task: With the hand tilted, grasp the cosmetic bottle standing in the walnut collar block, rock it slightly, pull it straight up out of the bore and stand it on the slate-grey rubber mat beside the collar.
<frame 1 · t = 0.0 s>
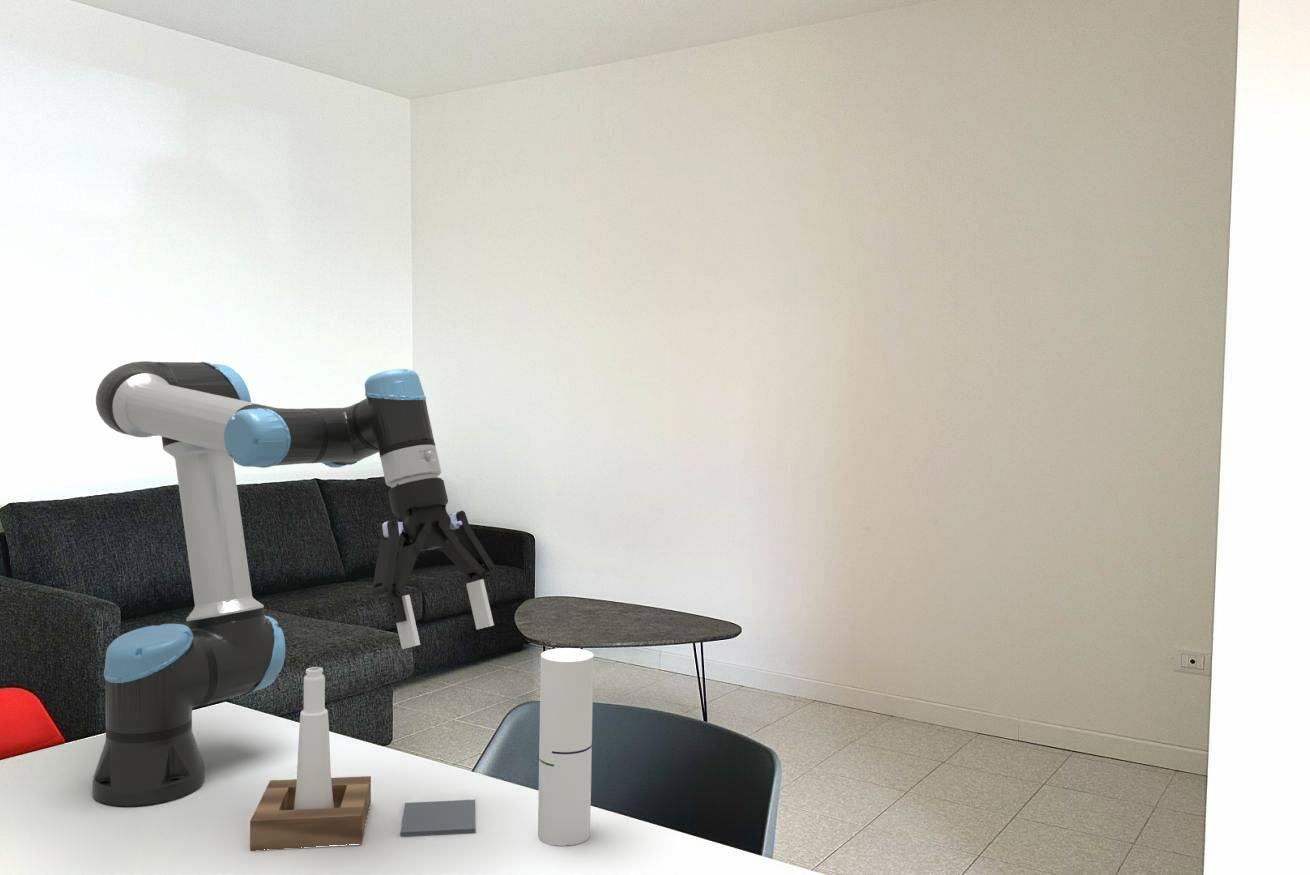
hand: (449, 637, 140), 28 cm above the table, tool tilted 20°, fingers open, 13 cm apart
mat: (439, 819, 149), on the table
collar: (313, 825, 146), on the table
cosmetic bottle: (313, 827, 146), resting in collar
cylindrical container: (564, 835, 145), on the table
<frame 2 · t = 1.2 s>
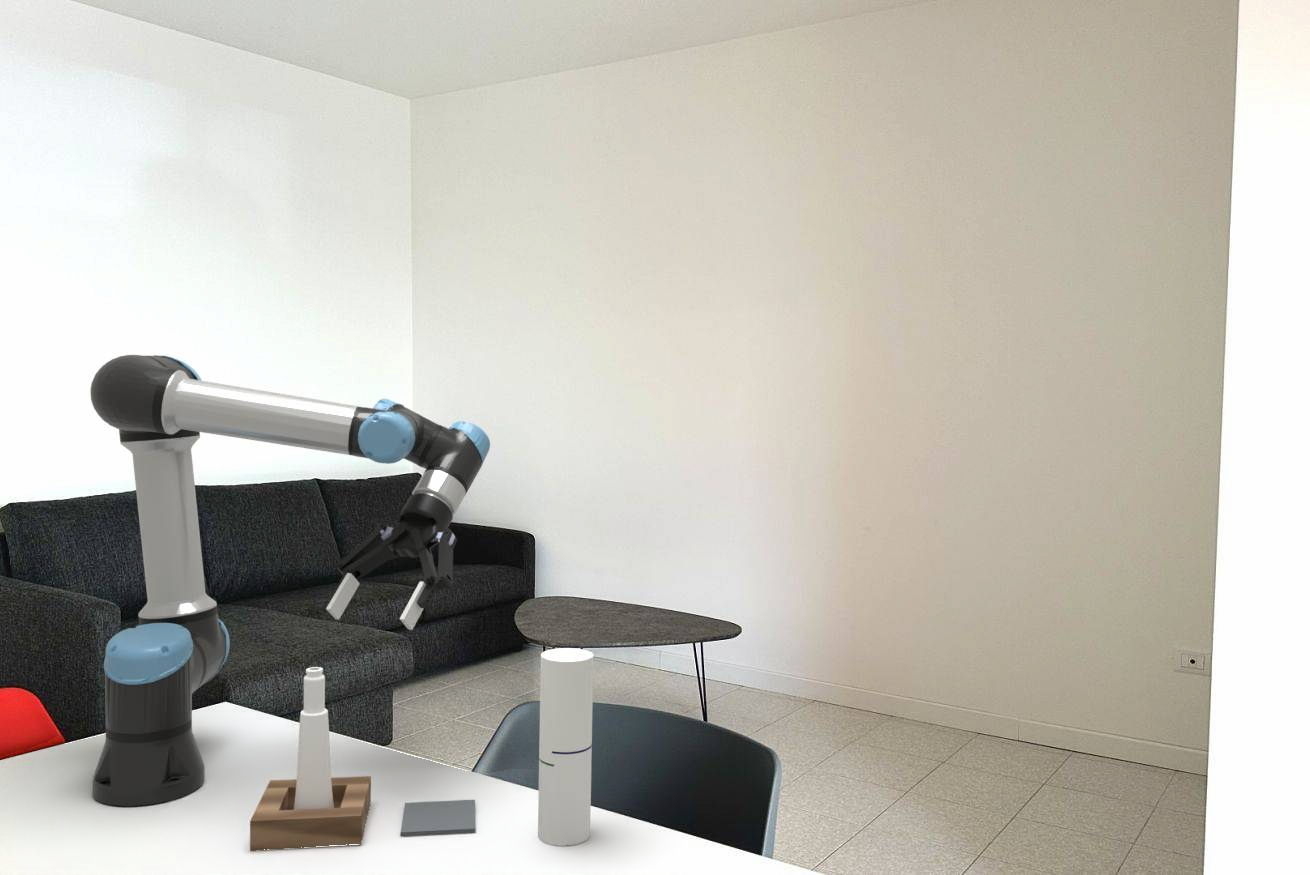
hand: (368, 619, 154), 27 cm above the table, tool tilted 45°, fingers open, 13 cm apart
nothing on the table moved.
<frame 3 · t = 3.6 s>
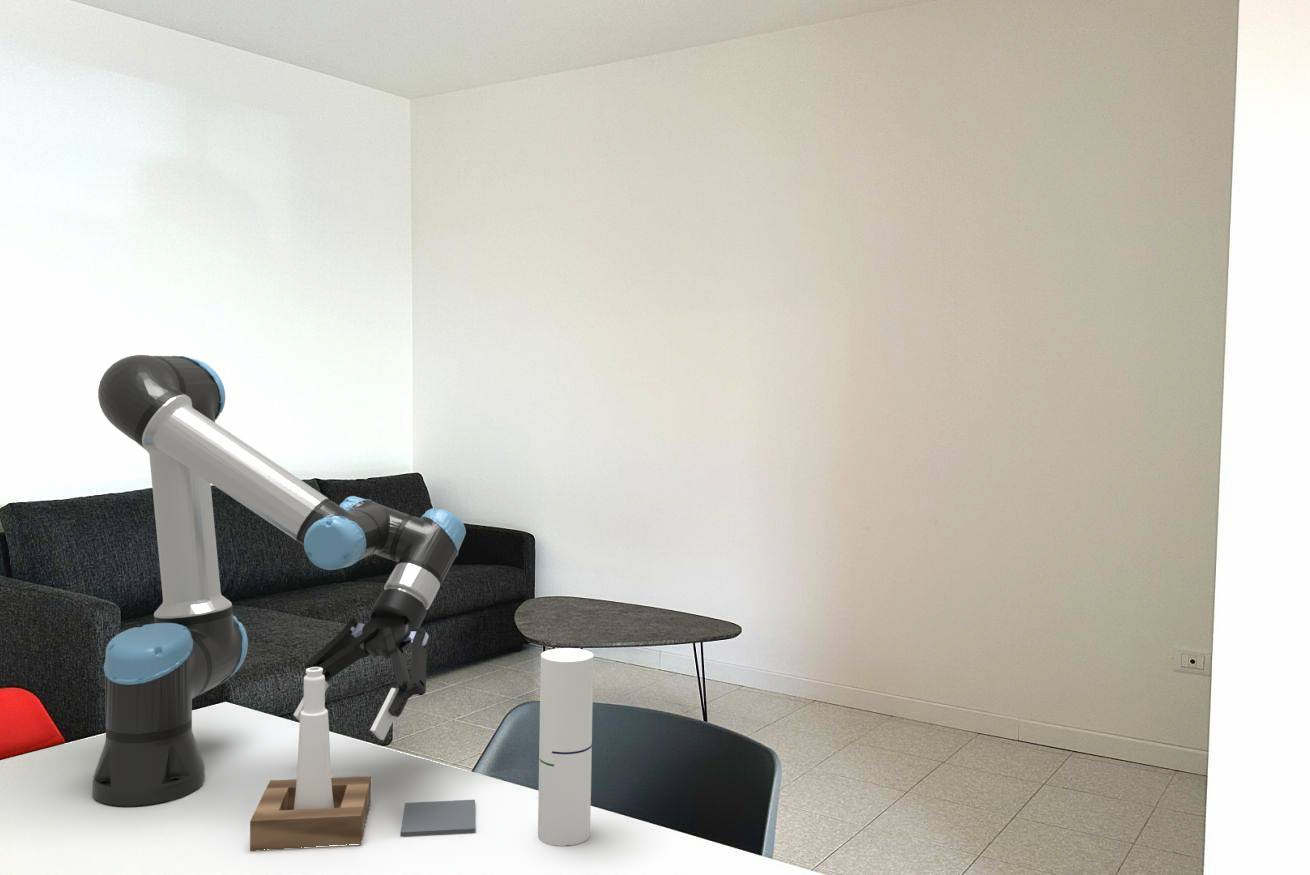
hand: (337, 727, 147), 13 cm above the table, tool tilted 45°, fingers open, 13 cm apart
nothing on the table moved.
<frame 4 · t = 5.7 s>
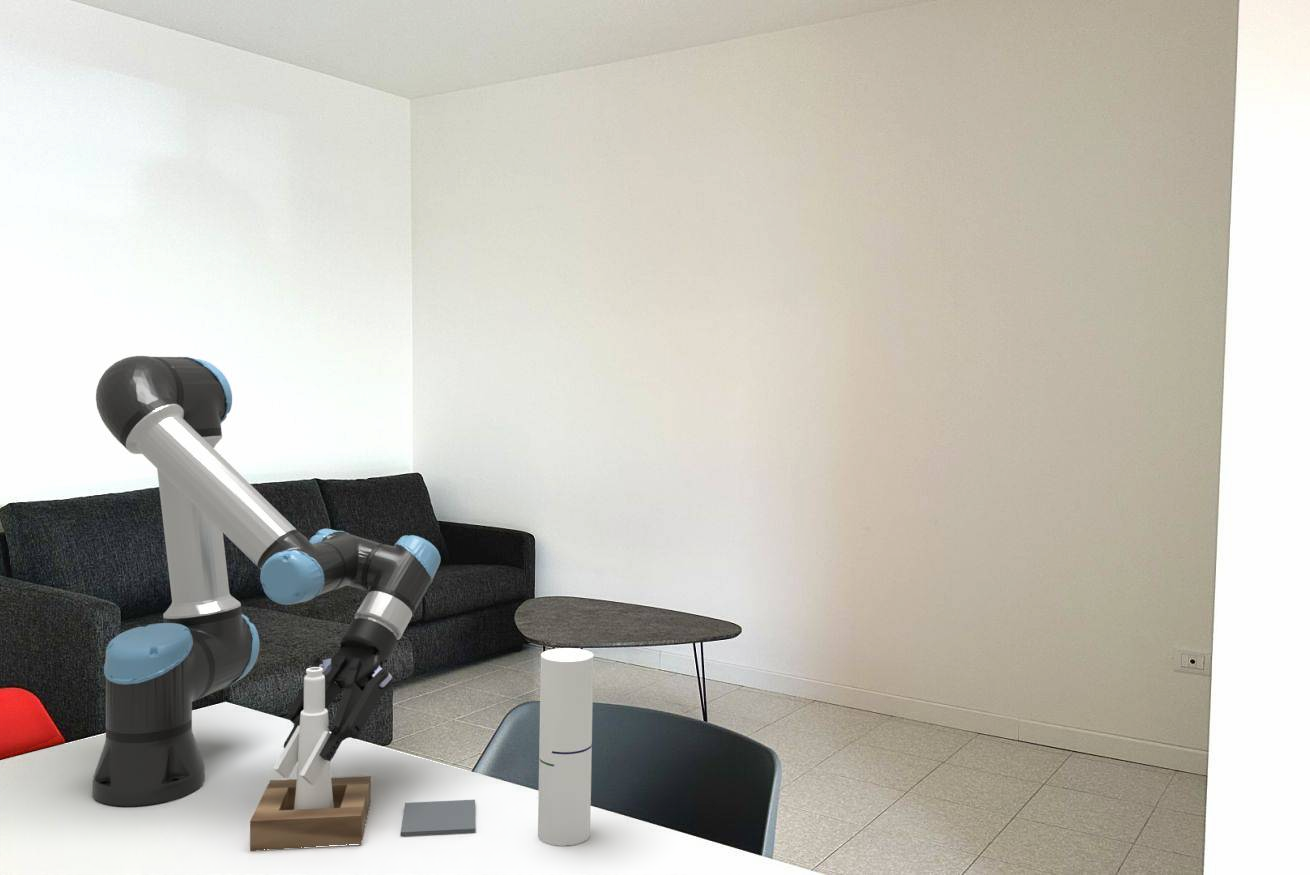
hand: (293, 776, 142), 8 cm above the table, tool tilted 45°, fingers closed on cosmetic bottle, 4 cm apart
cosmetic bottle: (313, 827, 146), resting in collar, touching gripper
everything else where it was.
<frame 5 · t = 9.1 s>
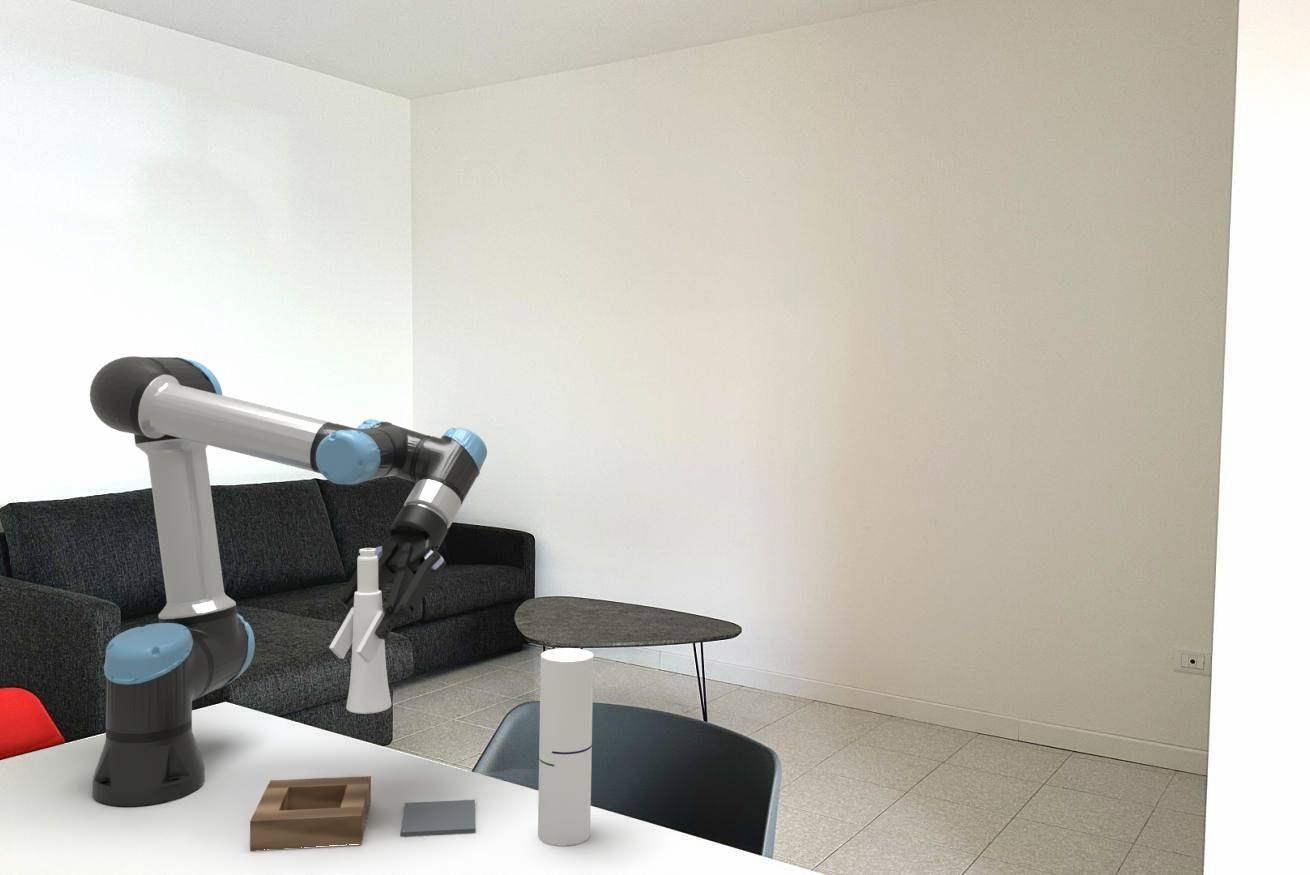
hand: (349, 654, 142), 25 cm above the table, tool tilted 45°, fingers closed on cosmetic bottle, 4 cm apart
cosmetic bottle: (369, 708, 146), point 16 cm above the table, touching gripper
everything else where it was.
when the fingers open (10 cm above the table, at t = 12.5 s): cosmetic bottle stays where it is, resting on mat.
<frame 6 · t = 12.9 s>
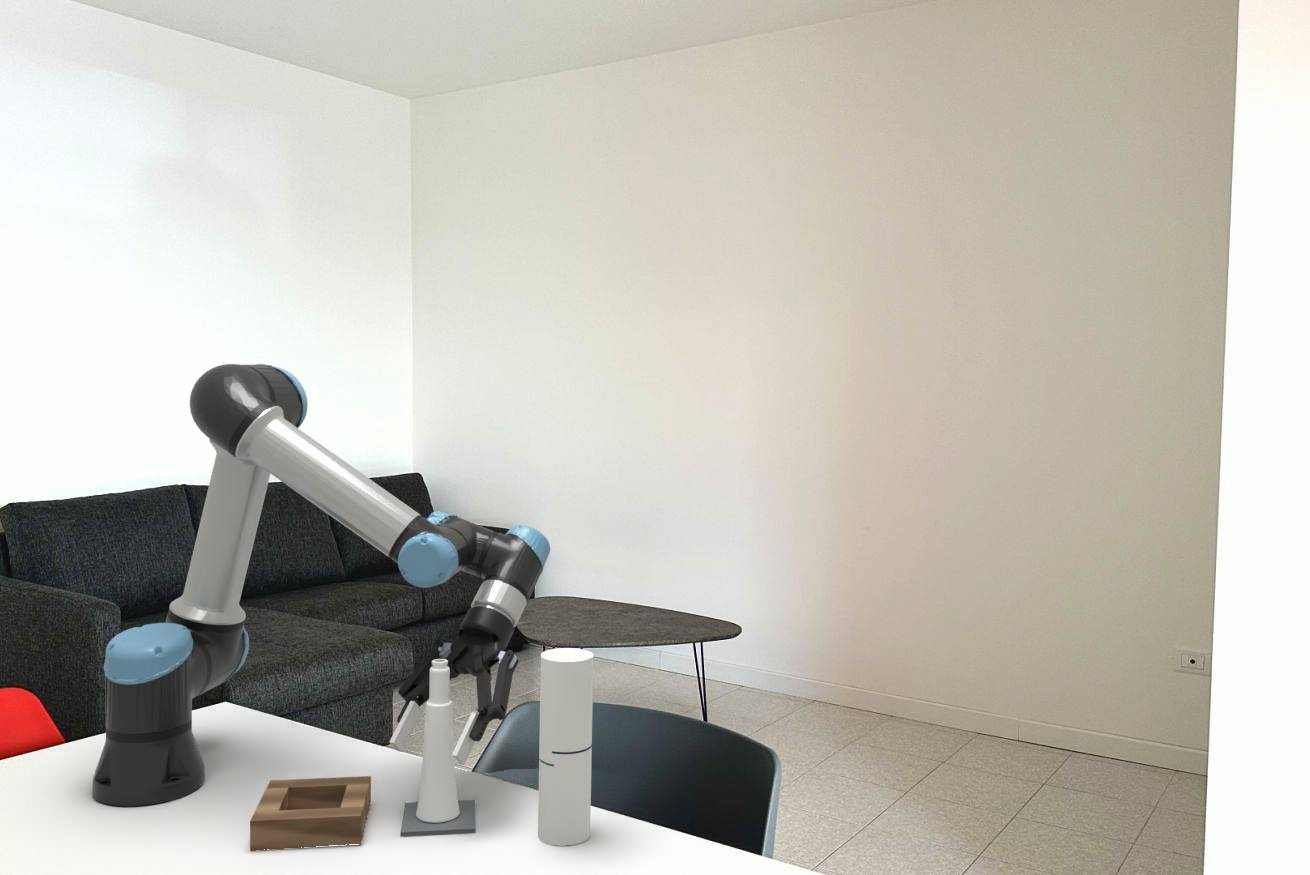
hand: (426, 753, 145), 10 cm above the table, tool tilted 45°, fingers open, 10 cm apart
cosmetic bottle: (437, 816, 149), resting on mat
everything else where it was.
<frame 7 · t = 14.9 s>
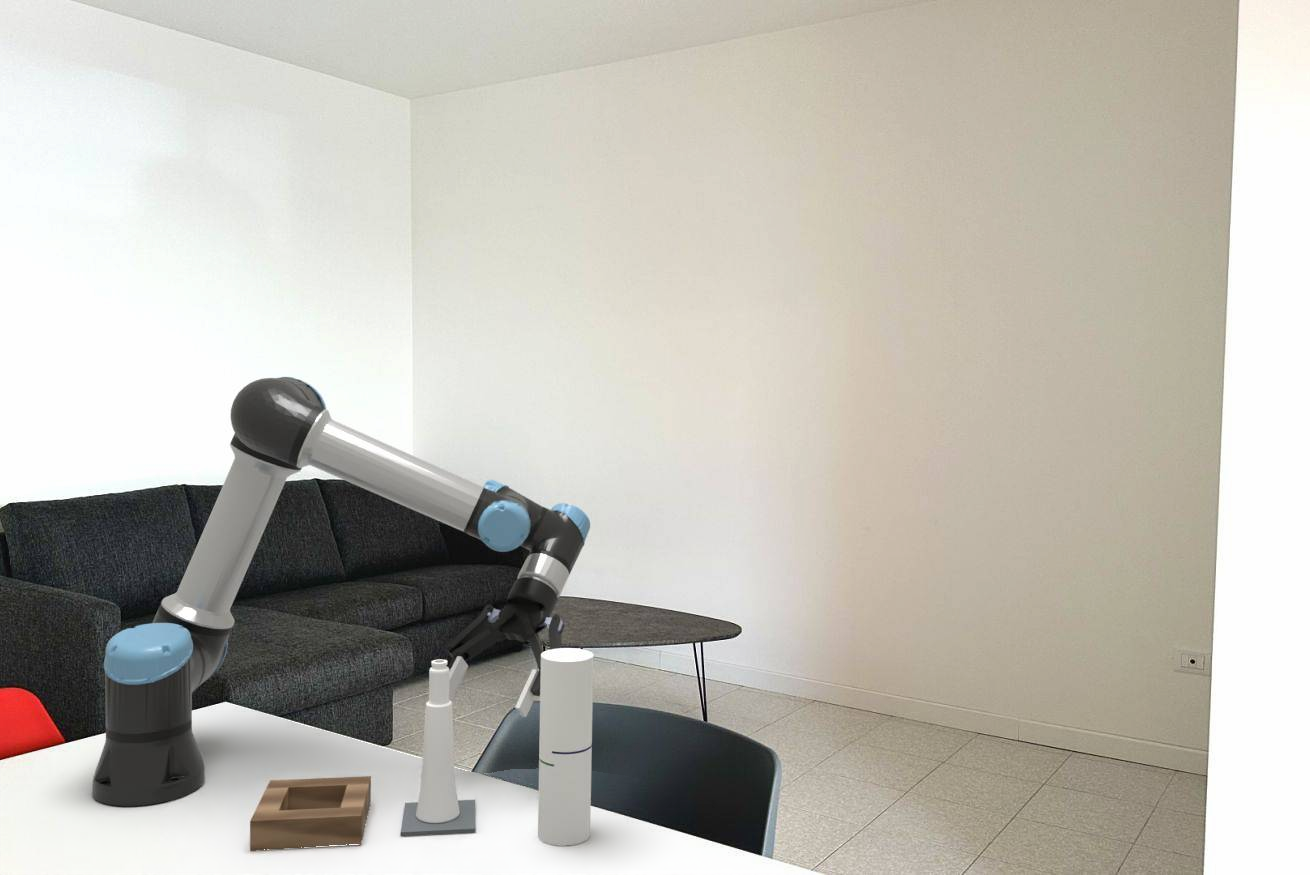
hand: (481, 705, 158), 13 cm above the table, tool tilted 45°, fingers open, 13 cm apart
nothing on the table moved.
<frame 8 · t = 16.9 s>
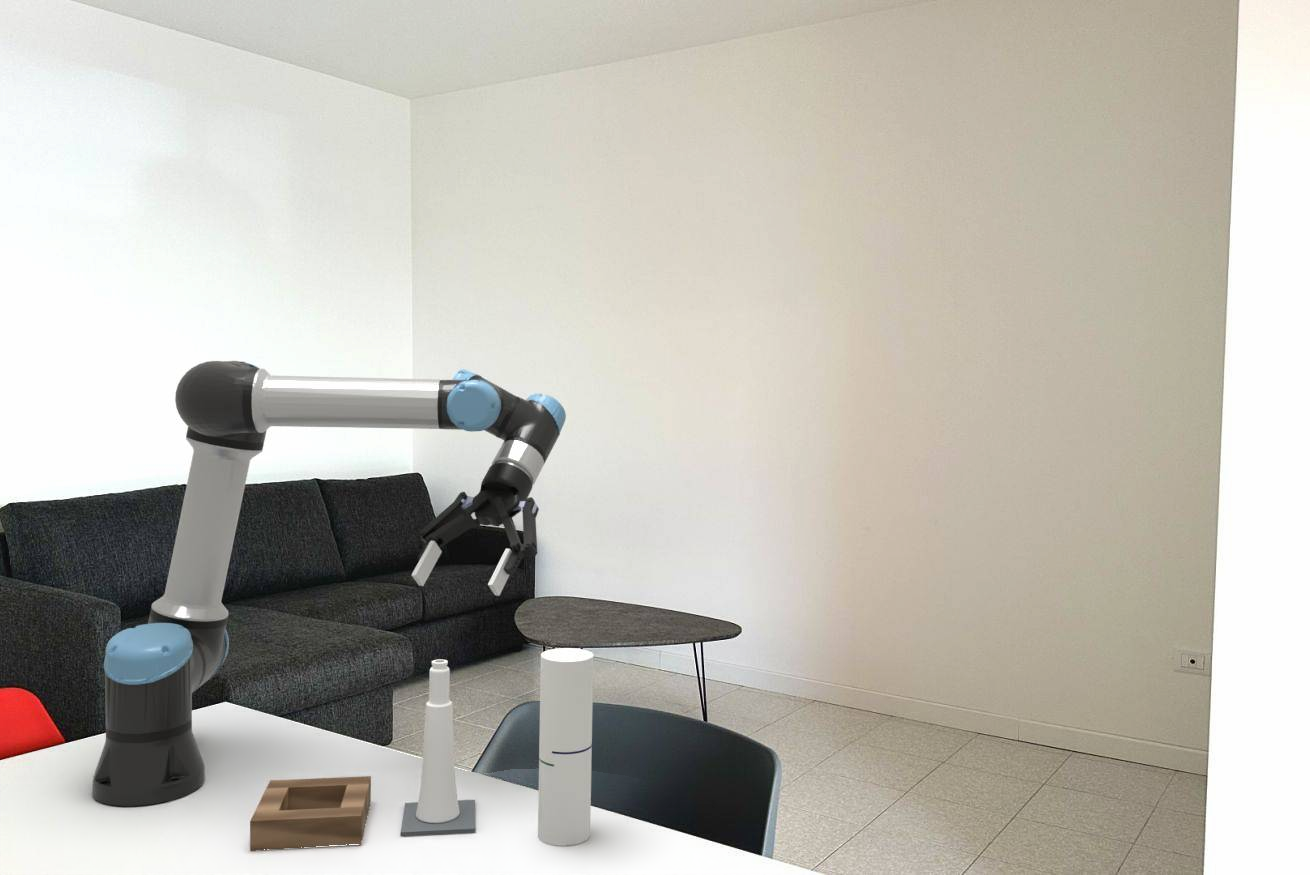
hand: (454, 585, 155), 32 cm above the table, tool tilted 45°, fingers open, 13 cm apart
nothing on the table moved.
at the end: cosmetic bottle inside the target area on the mat (0.3 cm from its centre), point 0.4 cm above the mat's base; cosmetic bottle tilted 0°; the gripper is holding nothing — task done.
